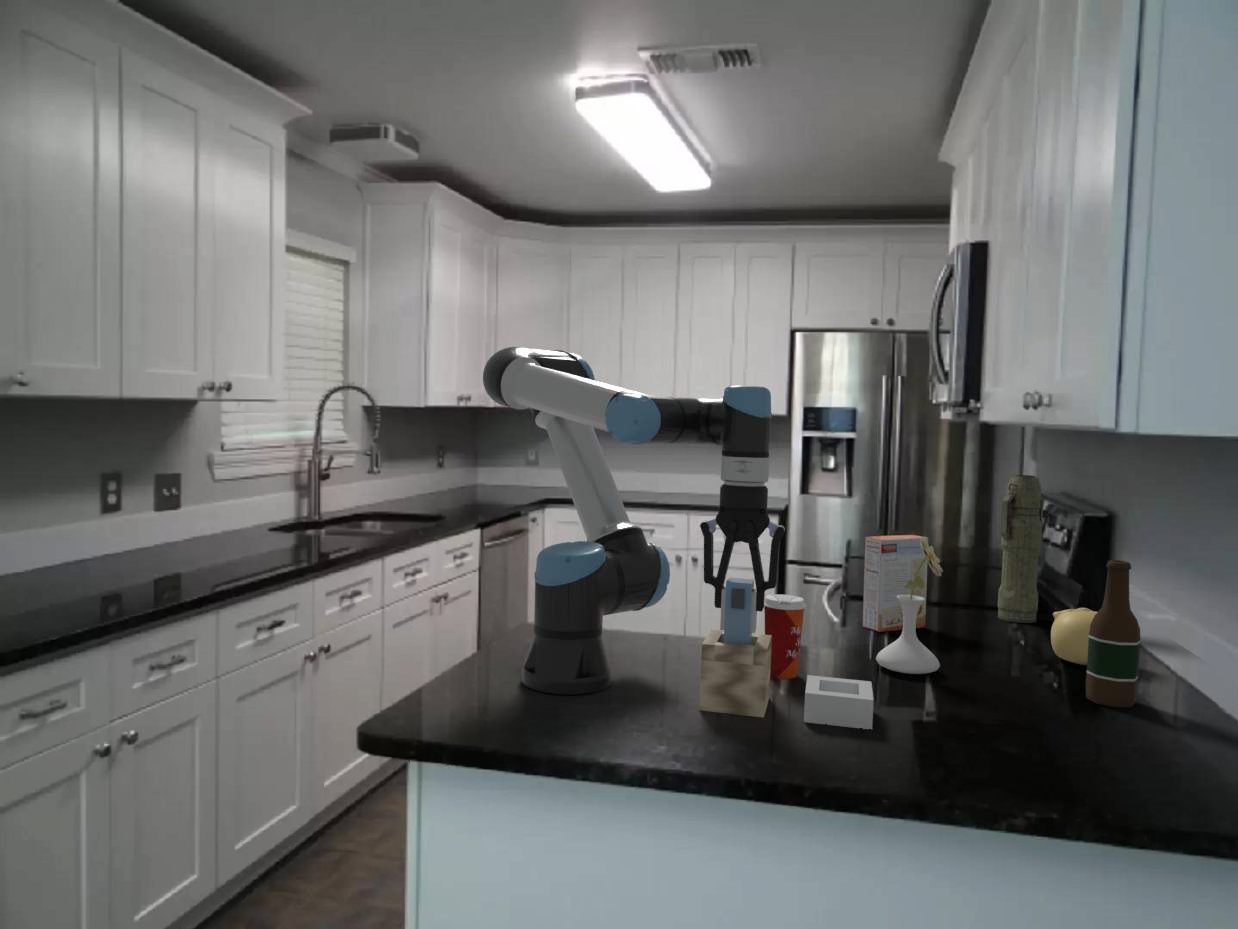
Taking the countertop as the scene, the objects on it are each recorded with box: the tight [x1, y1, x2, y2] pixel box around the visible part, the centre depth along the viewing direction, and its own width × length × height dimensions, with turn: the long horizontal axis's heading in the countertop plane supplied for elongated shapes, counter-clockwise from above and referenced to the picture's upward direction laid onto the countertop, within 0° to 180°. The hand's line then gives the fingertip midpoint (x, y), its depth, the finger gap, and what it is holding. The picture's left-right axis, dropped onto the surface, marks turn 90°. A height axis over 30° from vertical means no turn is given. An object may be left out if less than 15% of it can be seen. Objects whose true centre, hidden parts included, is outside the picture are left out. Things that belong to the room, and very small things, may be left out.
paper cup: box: [763, 593, 807, 680], centre depth 159 cm, size 8×8×14 cm
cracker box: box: [862, 534, 929, 633], centre depth 200 cm, size 14×6×21 cm, turn 116°
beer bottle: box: [1085, 559, 1141, 709], centre depth 149 cm, size 8×8×24 cm
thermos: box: [997, 474, 1045, 624], centre depth 214 cm, size 9×12×35 cm
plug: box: [723, 577, 755, 645], centre depth 141 cm, size 4×5×12 cm
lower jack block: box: [803, 674, 875, 731], centre depth 138 cm, size 10×10×4 cm
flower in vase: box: [875, 536, 944, 675], centre depth 165 cm, size 13×11×25 cm
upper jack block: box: [699, 629, 772, 719], centre depth 141 cm, size 10×10×10 cm
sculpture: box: [1050, 607, 1098, 666], centre depth 175 cm, size 12×12×11 cm
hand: (738, 629), depth 141 cm, fingers closed on plug, 4 cm apart
